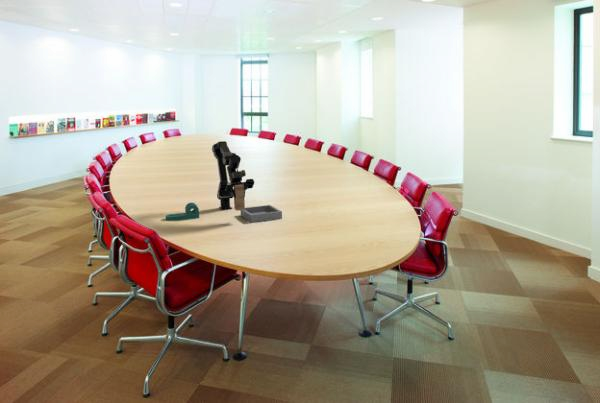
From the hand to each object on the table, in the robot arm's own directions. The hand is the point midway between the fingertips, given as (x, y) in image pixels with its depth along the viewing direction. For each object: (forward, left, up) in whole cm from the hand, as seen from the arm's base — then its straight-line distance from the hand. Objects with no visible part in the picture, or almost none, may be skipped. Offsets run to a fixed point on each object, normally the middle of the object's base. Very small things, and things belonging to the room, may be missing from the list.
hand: (239, 197), depth 257 cm
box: (-6, +14, -13) cm, 20 cm away
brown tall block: (-1, 0, -7) cm, 7 cm away
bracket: (-24, -26, -14) cm, 38 cm away
